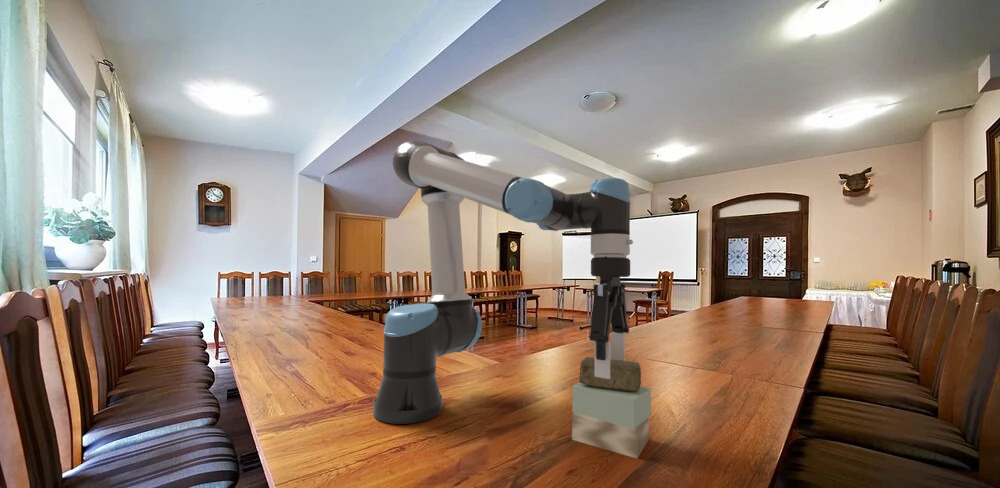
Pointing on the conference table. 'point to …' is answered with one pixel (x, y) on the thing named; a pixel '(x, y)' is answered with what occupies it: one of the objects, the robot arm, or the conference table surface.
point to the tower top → (612, 404)
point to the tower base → (610, 435)
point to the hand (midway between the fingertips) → (610, 370)
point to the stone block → (612, 375)
